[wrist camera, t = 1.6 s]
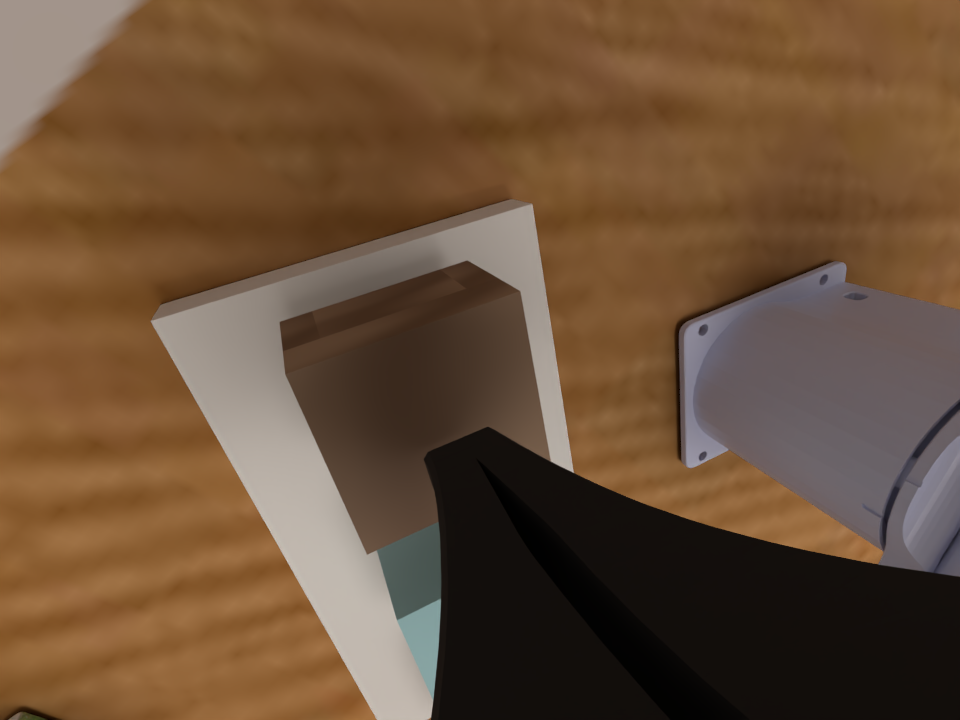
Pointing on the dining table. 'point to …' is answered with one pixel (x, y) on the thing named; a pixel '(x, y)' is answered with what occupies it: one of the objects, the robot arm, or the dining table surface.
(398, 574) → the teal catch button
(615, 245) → the dining table surface
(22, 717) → the syrup box
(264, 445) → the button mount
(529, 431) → the brown ledged cube
